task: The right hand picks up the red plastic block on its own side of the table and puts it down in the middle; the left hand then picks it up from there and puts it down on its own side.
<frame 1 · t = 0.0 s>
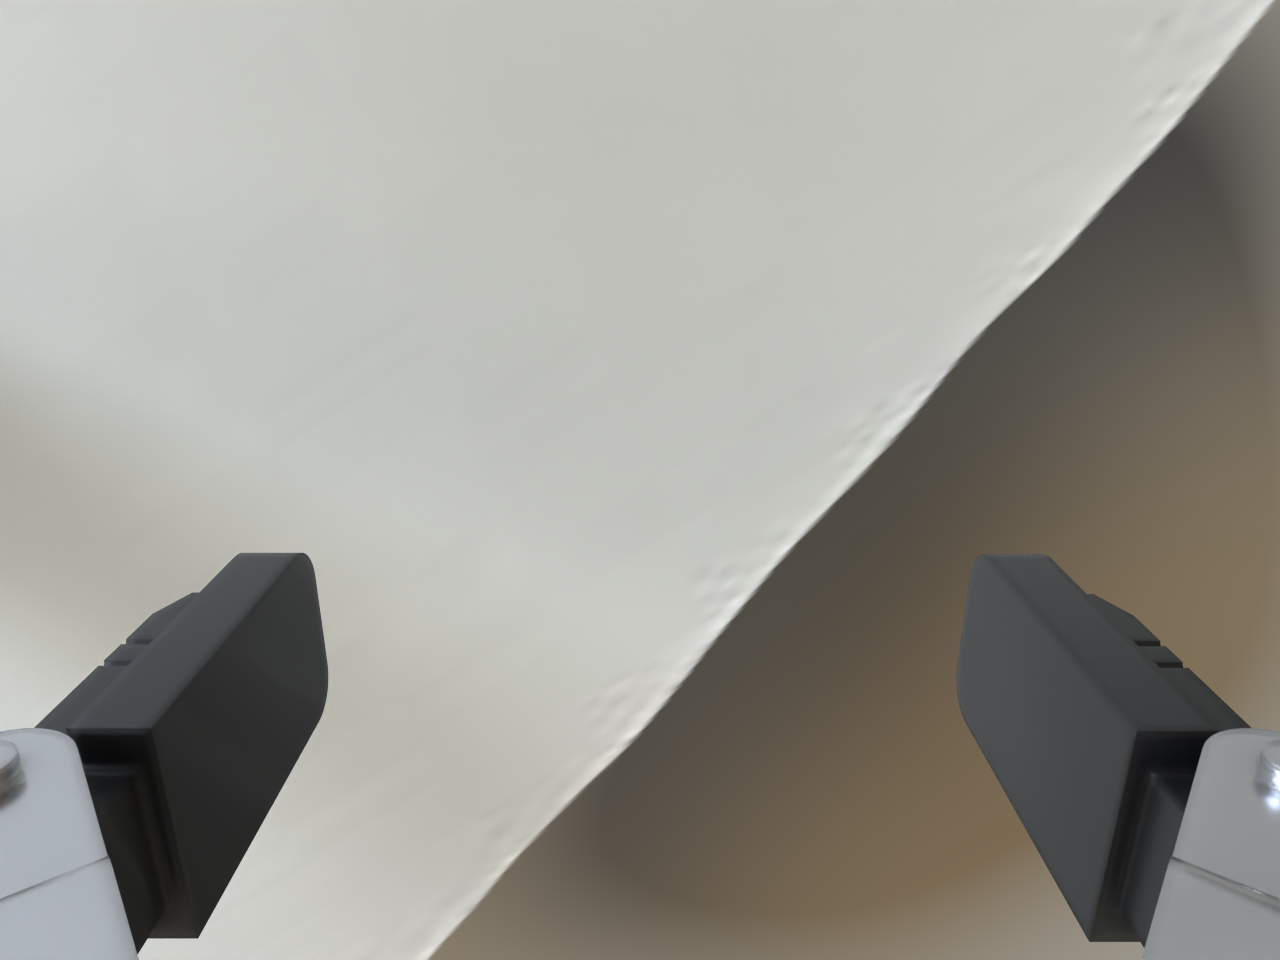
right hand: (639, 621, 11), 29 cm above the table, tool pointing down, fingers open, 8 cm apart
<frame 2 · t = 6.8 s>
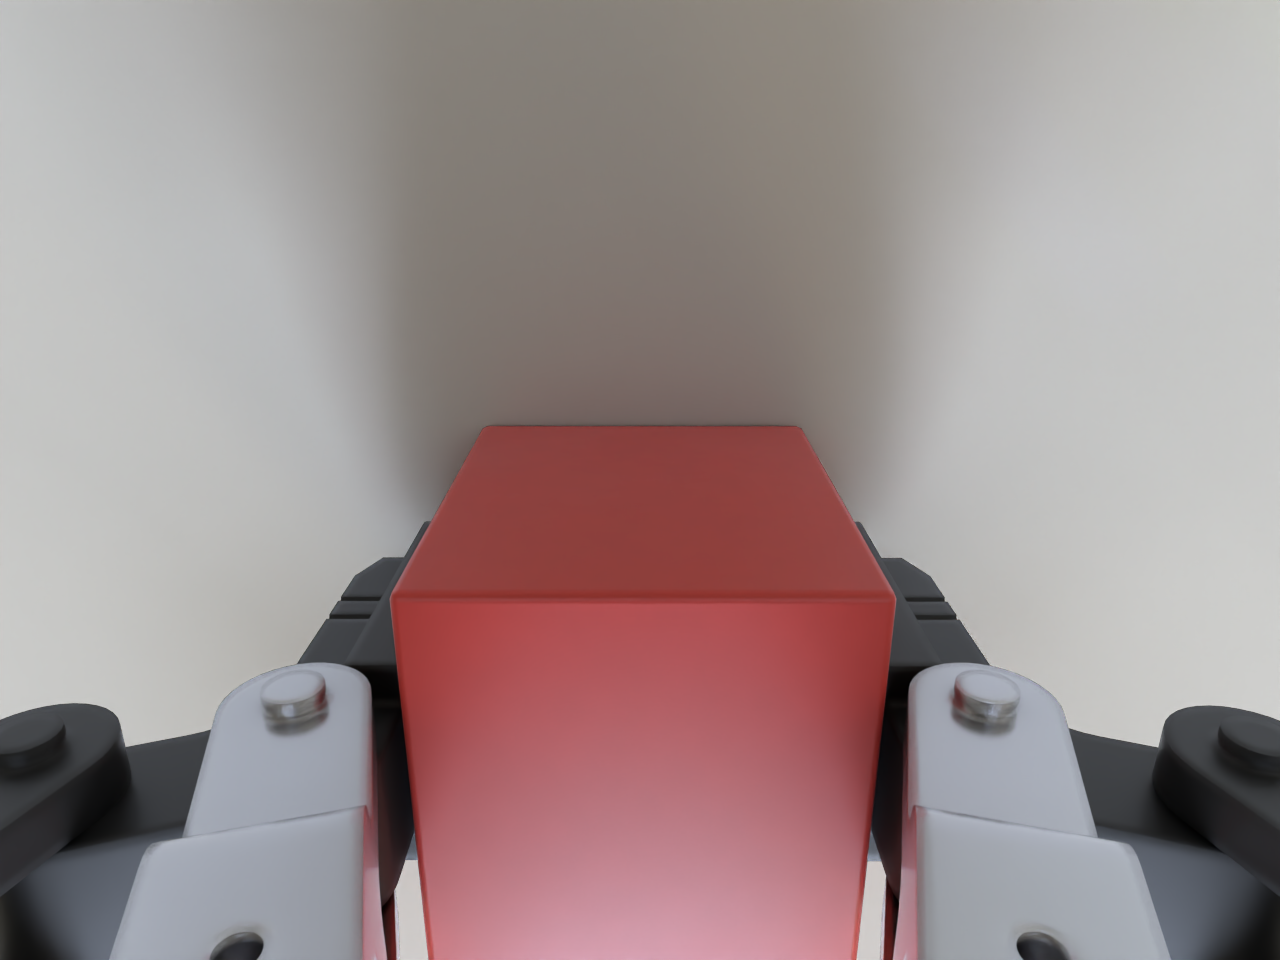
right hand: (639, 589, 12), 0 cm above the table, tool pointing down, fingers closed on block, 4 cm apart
block: (641, 572, 12), on the table, touching right hand
when the right hand's fingers open (1 cm above the table, at t = 9.6 s): block stays where it is, on the table.
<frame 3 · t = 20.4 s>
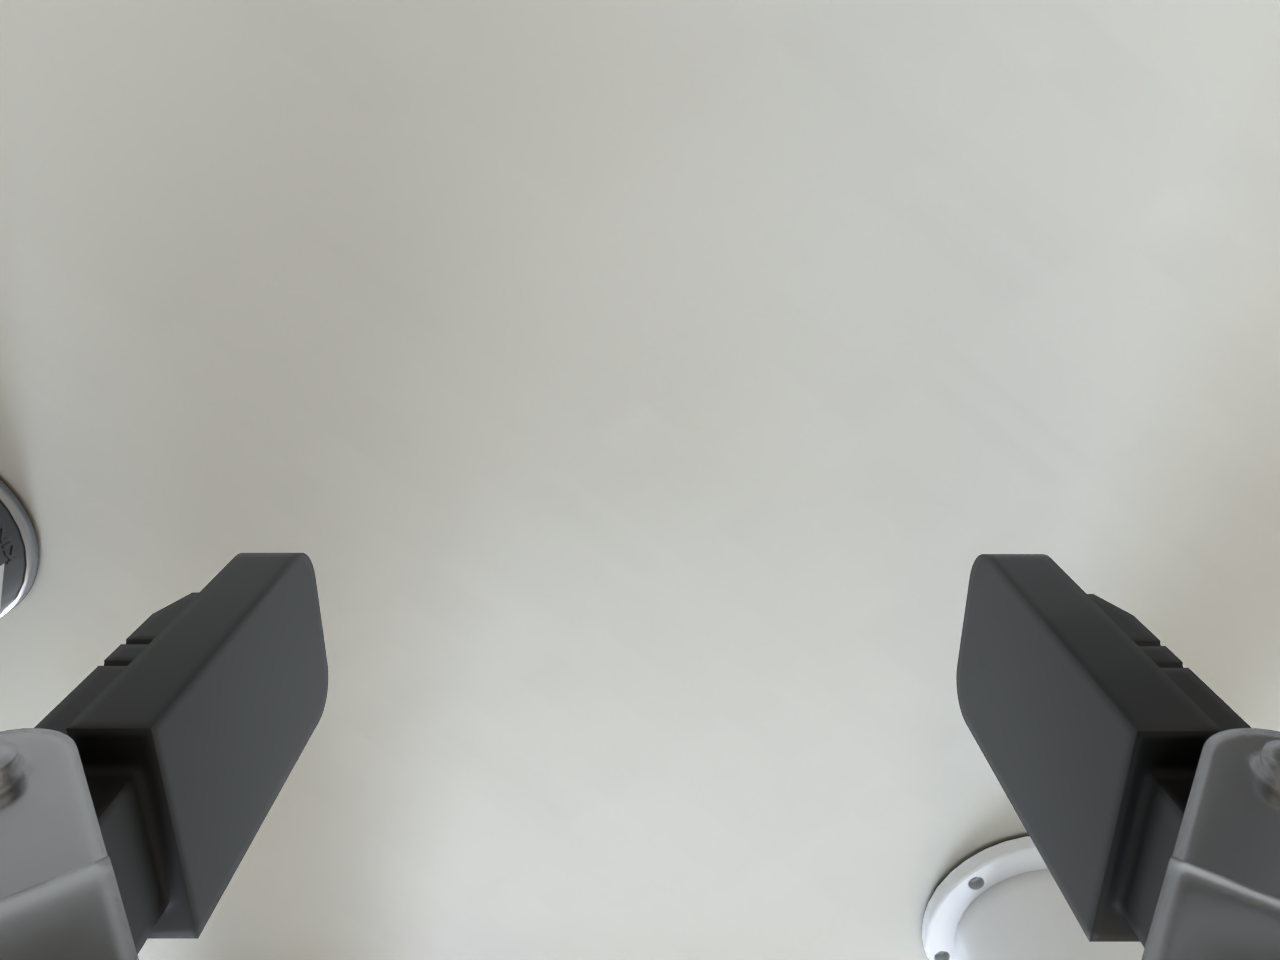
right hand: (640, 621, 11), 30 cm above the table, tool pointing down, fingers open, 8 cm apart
when the left hand's fingers open (1 cm above the table, at t = 25.6 s): block stays where it is, on the table.
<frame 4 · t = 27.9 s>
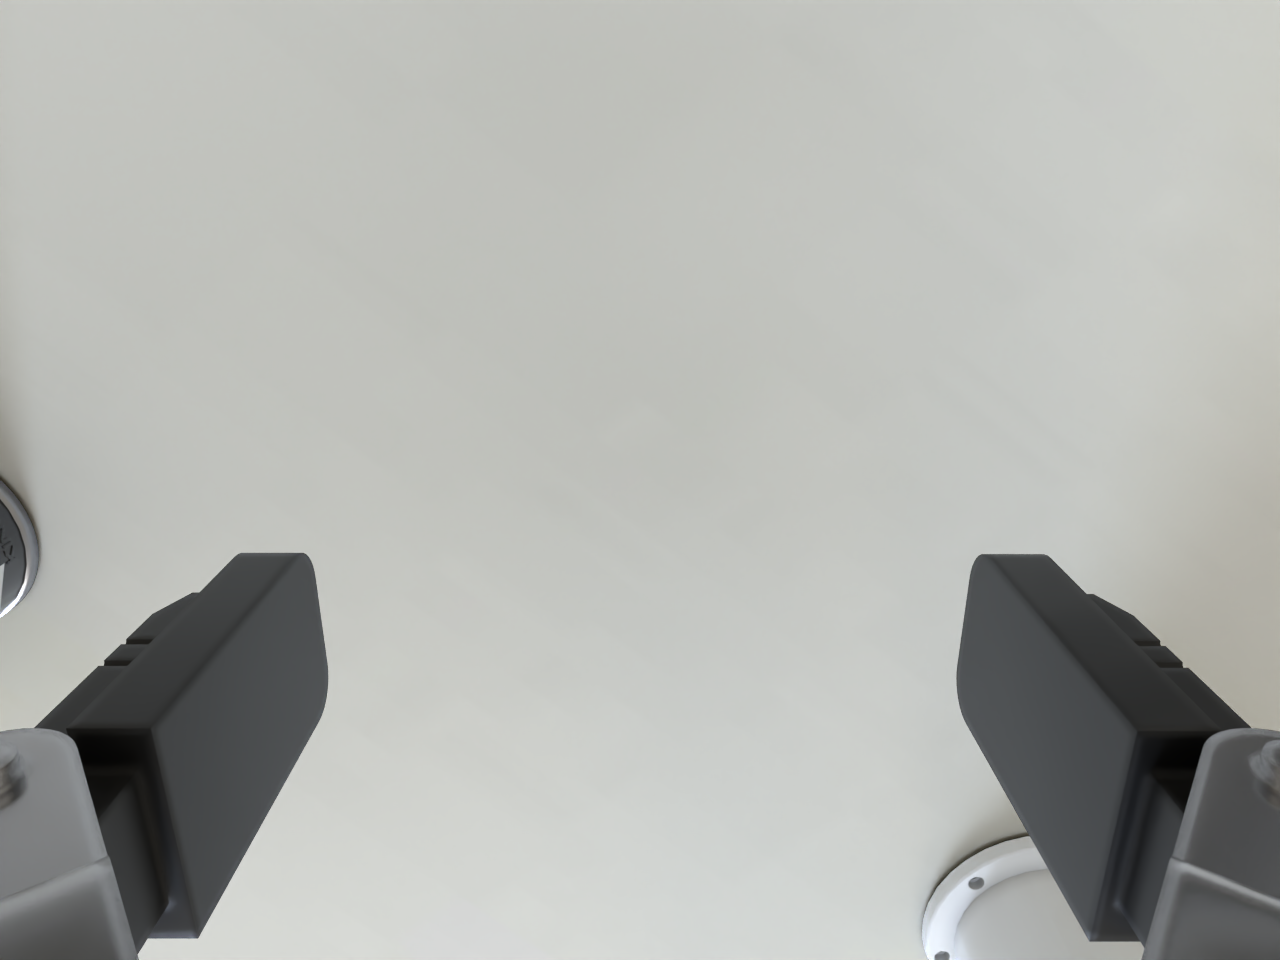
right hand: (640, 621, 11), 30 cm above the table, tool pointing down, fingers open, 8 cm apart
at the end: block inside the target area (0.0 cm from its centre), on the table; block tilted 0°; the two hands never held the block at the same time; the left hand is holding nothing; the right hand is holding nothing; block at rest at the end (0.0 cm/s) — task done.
